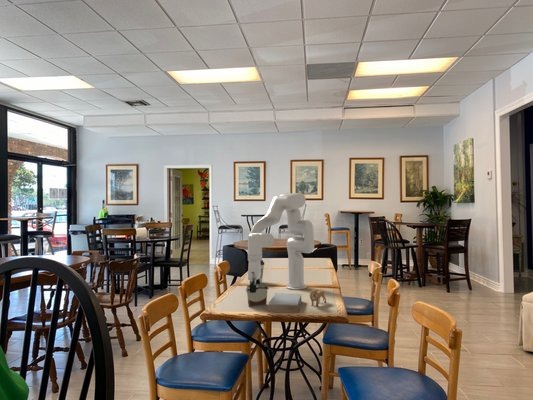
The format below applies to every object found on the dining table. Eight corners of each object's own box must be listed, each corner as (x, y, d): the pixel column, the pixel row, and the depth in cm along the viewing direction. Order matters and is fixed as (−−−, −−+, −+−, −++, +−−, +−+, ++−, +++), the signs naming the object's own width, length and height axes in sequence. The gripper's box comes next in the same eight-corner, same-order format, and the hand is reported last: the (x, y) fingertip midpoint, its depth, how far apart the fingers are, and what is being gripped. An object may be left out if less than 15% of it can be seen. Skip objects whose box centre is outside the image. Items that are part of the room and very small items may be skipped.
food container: (264, 301, 186) (264, 283, 186) (268, 304, 180) (268, 285, 180) (242, 304, 181) (242, 285, 182) (246, 307, 176) (246, 287, 176)
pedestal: (275, 300, 188) (275, 293, 188) (301, 301, 185) (301, 293, 185) (268, 311, 168) (268, 303, 168) (297, 312, 166) (297, 304, 166)
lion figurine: (317, 309, 171) (317, 291, 171) (307, 307, 174) (307, 289, 174) (328, 301, 184) (327, 284, 184) (318, 300, 186) (318, 283, 187)
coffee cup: (265, 280, 237) (265, 259, 237) (264, 284, 226) (263, 261, 226) (249, 280, 238) (249, 259, 238) (246, 284, 227) (246, 261, 227)
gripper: (251, 255, 190) (251, 286, 190) (243, 259, 173) (243, 293, 173) (265, 255, 189) (265, 287, 188) (258, 259, 172) (258, 294, 171)
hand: (255, 290), depth 180 cm, fingers open, 9 cm apart
